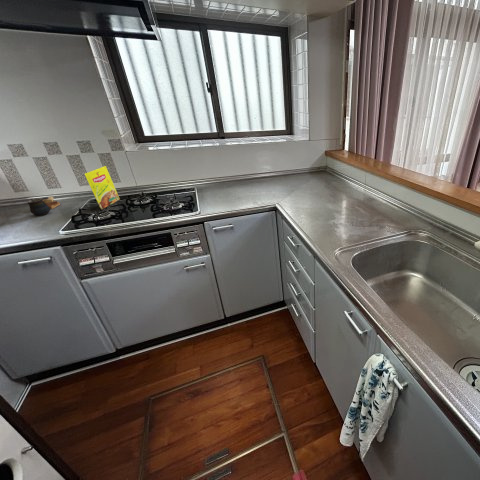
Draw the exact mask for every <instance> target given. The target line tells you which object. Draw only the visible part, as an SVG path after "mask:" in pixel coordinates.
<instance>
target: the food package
mask: <svg viewBox="0 0 480 480" xmlns="http://www.w3.org/2000/svg"><path fill="white" fill-rule="evenodd" d="M84 176H85V178H86V181H87V183H88V185H89V187H90V190H91V191H92V193H93V195H94V198H95V200H96V203H97V204H98V207H99V208H100V210H103V209H106V208H107V207H109V206H111V205H113V204H115V203H116V202H118V201H120V200H121V197H119V194H118V191H117V189H116V186H115V184H114V181H113V179H112V177H111V174H110V173H109V170H108V168H107V165H104V166H102V167H99V168H96V169H93V170H90V171H88V172H84Z"/></svg>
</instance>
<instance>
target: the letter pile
mask: <svg viewBox="0 0 480 480" xmlns="http://www.w3.org/2000/svg"><path fill="white" fill-rule="evenodd" d="M38 199H42V200H43V202H44V203H46V204H47V205H48V206H49V208H50V210H53V209H55V208H56V207H58V206H60V205H61V203H60V201H57V200H55V198H54V196H45V197H39V198H38Z"/></svg>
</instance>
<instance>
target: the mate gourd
mask: <svg viewBox="0 0 480 480" xmlns="http://www.w3.org/2000/svg"><path fill="white" fill-rule="evenodd" d="M27 204H28V206H29V207H28V208H29V211H30V213H31V214H32V215H33V216H37V217H42V216H45V215H48V214H49V213H50V212H51V209H50V208H49V206H48V205H47V204H46V203H44V202H43V200H42V199H39V198H30V199H29V200H28V201H27Z"/></svg>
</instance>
